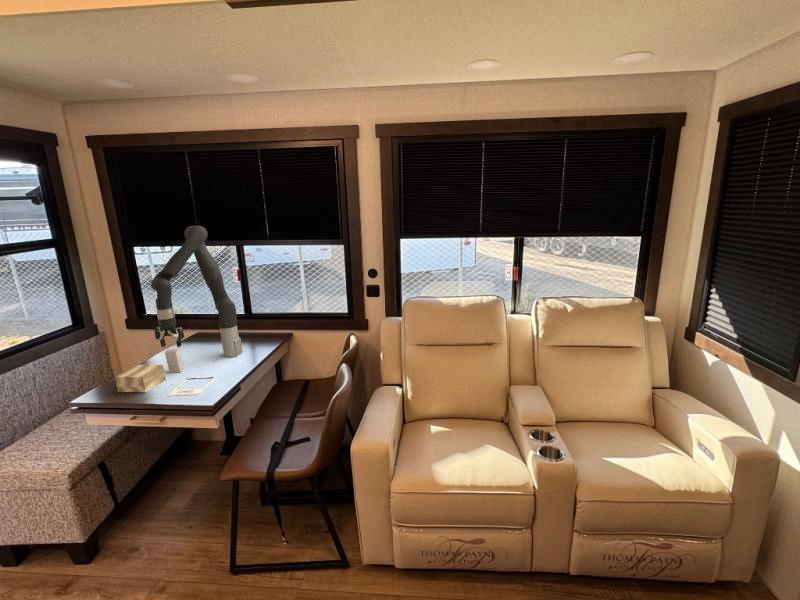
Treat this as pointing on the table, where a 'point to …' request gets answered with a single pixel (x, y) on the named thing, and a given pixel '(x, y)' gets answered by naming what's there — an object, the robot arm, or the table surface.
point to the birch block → (140, 378)
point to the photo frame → (188, 391)
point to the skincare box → (174, 360)
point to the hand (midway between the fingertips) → (171, 346)
